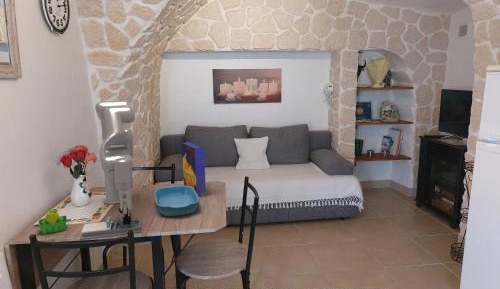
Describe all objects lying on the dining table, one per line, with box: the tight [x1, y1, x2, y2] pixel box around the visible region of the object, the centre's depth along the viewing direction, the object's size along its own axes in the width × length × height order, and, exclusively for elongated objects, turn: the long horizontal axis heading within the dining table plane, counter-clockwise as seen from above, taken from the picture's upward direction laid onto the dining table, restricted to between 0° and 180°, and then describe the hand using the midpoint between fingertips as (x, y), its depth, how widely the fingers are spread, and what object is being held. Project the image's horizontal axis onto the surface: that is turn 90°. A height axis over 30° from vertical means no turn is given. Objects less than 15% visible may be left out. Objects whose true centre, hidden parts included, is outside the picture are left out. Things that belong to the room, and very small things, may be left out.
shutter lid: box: [80, 215, 113, 235], centre depth 160 cm, size 9×12×4 cm
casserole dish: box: [154, 184, 200, 217], centre depth 192 cm, size 37×22×7 cm, turn 18°
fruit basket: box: [38, 208, 68, 235], centre depth 162 cm, size 11×9×11 cm
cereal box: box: [181, 141, 207, 198], centre depth 214 cm, size 22×6×30 cm, turn 30°
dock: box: [79, 218, 142, 241], centre depth 162 cm, size 13×26×2 cm, turn 106°
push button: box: [117, 207, 135, 228], centre depth 163 cm, size 7×5×10 cm
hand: (127, 222), depth 164 cm, fingers closed on push button, 3 cm apart
